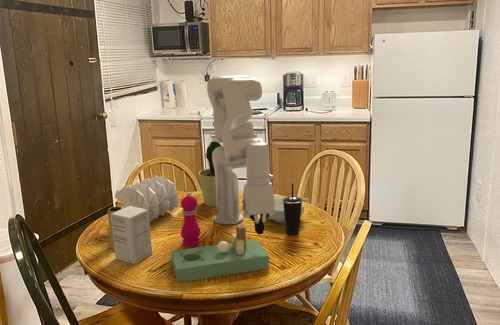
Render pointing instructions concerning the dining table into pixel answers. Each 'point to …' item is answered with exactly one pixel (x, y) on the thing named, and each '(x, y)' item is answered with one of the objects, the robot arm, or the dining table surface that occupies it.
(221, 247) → the ball
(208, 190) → the potted cactus
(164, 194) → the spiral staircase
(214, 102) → the robot arm
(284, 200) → the drinking cup
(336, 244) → the dining table surface
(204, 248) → the putting mat
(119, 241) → the supplement box
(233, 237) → the stacked wooden blocks
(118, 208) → the vase
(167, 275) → the dining table surface
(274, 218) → the cereal bowl
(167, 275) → the dining table surface
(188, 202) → the pepper mill
